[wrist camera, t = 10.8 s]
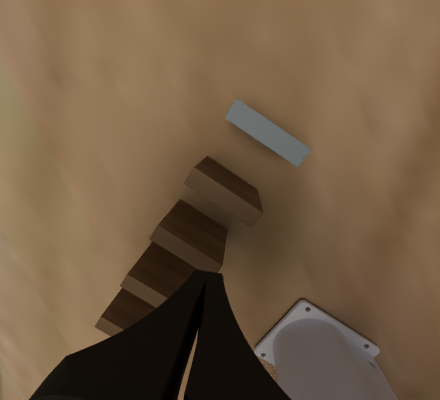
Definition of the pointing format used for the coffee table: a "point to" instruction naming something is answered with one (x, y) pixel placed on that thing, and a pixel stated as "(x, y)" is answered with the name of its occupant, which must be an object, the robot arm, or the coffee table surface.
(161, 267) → the domino
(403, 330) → the coffee table surface
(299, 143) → the domino
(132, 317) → the domino
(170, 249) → the domino
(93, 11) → the coffee table surface
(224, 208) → the domino
